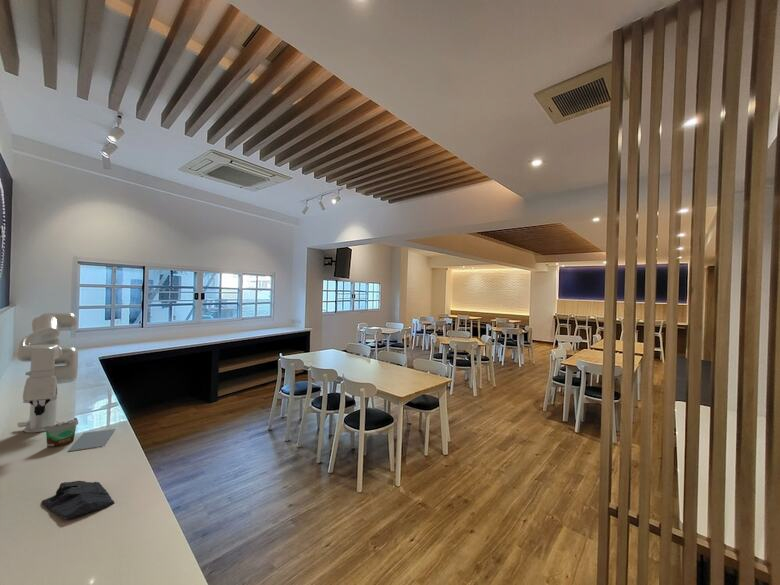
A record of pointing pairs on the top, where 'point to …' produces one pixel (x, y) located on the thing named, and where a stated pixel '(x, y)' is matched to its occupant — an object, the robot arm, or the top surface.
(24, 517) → the top surface
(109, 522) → the top surface
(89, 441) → the rubber mat
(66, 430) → the food container
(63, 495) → the dark slate chunk
